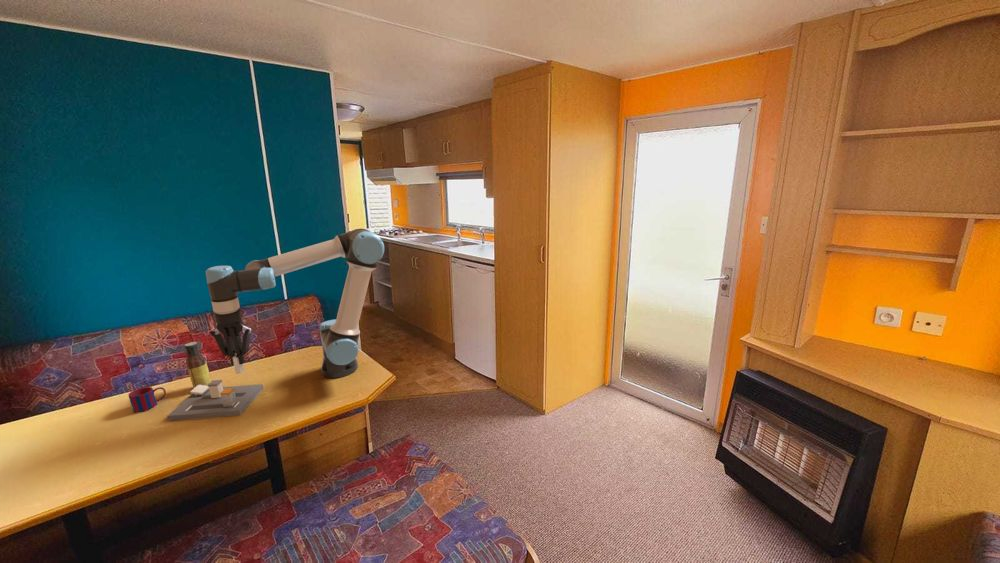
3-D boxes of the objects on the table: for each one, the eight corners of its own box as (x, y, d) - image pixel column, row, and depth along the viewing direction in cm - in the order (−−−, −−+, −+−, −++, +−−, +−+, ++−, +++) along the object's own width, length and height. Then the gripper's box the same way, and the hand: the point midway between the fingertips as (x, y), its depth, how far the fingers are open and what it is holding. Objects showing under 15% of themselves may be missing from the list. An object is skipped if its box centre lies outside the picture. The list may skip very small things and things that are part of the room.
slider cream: (224, 393, 149) (221, 379, 148) (220, 397, 146) (216, 384, 145) (215, 393, 149) (212, 380, 148) (210, 398, 146) (207, 384, 144)
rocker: (209, 390, 153) (209, 386, 152) (201, 397, 148) (201, 393, 148) (198, 388, 152) (198, 384, 152) (190, 395, 147) (190, 391, 147)
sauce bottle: (216, 384, 160) (206, 340, 155) (204, 392, 154) (192, 347, 149) (202, 383, 161) (191, 340, 155) (189, 391, 155) (177, 346, 149)
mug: (135, 406, 146) (130, 390, 144) (169, 397, 151) (164, 382, 149) (131, 415, 140) (126, 398, 138) (167, 405, 146) (162, 389, 144)
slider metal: (237, 401, 144) (234, 387, 142) (232, 406, 141) (229, 392, 139) (228, 402, 143) (224, 388, 142) (223, 407, 140) (219, 393, 139)
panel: (263, 388, 157) (262, 384, 156) (240, 415, 139) (239, 410, 139) (199, 393, 154) (198, 388, 153) (167, 420, 137) (166, 415, 136)
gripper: (252, 306, 137) (264, 365, 143) (213, 307, 135) (226, 368, 142) (241, 313, 130) (254, 375, 136) (200, 315, 128) (214, 378, 135)
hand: (240, 371), depth 139 cm, fingers closed
